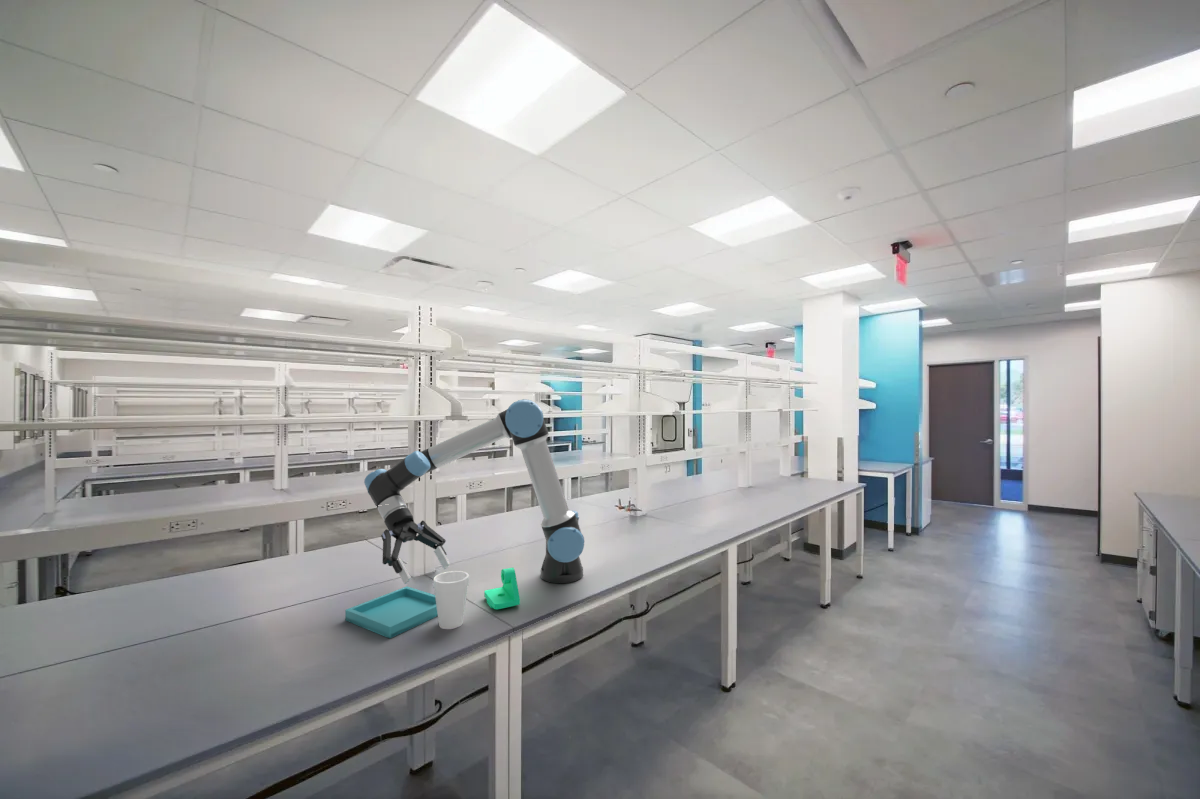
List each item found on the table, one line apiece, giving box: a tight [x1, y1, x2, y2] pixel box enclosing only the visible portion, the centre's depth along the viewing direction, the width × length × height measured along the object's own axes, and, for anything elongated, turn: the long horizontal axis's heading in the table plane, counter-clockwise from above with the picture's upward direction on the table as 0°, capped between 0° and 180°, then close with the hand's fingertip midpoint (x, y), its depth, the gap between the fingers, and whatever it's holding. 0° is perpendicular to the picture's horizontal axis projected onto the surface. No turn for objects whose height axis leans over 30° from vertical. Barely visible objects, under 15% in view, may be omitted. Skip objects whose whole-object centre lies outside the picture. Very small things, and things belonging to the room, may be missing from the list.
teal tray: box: [344, 585, 438, 639], centre depth 135 cm, size 20×20×3 cm
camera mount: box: [484, 567, 521, 610], centre depth 144 cm, size 12×8×10 cm, turn 30°
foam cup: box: [432, 570, 470, 630], centre depth 130 cm, size 10×9×13 cm
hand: (428, 573), depth 134 cm, fingers open, 13 cm apart
